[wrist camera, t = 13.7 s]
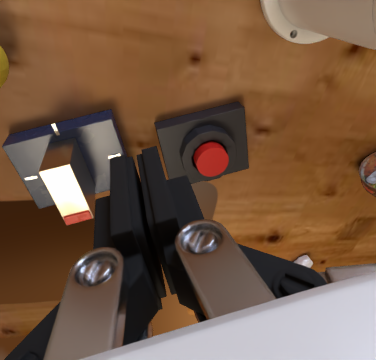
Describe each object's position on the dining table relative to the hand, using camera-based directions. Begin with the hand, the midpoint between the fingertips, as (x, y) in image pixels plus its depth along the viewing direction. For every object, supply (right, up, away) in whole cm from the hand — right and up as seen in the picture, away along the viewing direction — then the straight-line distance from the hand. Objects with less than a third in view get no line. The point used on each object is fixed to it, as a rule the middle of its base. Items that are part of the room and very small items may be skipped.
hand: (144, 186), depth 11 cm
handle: (-12, +2, +25) cm, 28 cm away
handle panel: (-12, +3, +28) cm, 31 cm away
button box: (+3, +5, +31) cm, 31 cm away
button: (+4, +3, +28) cm, 28 cm away
